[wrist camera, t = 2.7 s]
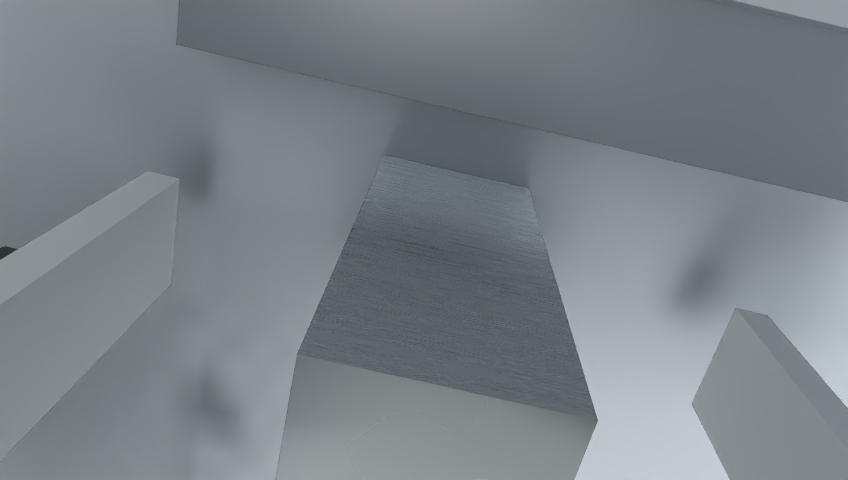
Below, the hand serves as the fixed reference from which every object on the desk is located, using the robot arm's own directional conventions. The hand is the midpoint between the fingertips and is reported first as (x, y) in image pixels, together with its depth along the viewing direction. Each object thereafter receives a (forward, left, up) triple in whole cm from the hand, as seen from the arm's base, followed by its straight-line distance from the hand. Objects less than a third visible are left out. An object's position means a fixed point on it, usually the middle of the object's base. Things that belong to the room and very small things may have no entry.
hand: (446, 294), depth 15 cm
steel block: (0, 0, -3) cm, 3 cm away
